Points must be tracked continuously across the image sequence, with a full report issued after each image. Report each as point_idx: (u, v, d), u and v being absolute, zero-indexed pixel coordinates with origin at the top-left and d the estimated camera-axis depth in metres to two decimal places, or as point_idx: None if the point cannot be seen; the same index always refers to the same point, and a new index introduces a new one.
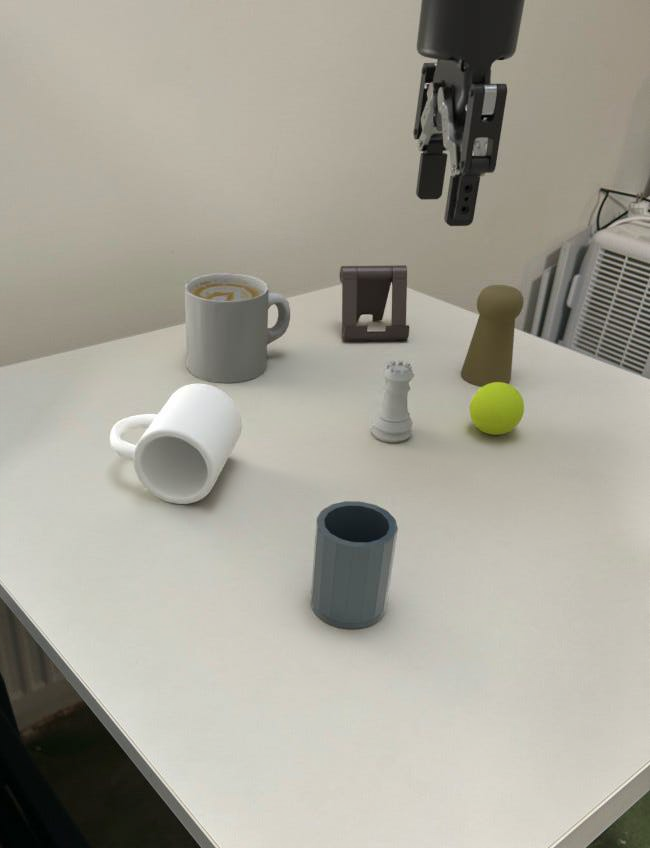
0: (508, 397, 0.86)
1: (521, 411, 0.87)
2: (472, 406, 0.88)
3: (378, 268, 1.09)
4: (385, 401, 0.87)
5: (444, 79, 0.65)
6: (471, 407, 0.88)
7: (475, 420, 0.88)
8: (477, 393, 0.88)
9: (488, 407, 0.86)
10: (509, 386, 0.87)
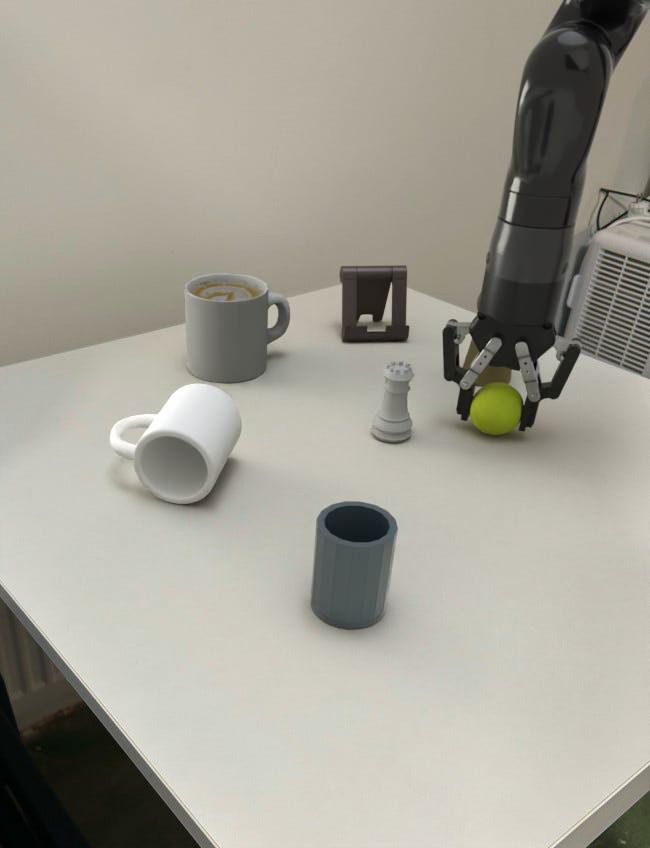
0: (508, 397, 0.86)
1: (521, 411, 0.87)
2: (472, 406, 0.88)
3: (378, 268, 1.09)
4: (385, 401, 0.87)
5: (503, 333, 0.83)
6: (471, 407, 0.88)
7: (474, 420, 0.88)
8: (477, 393, 0.88)
9: (488, 407, 0.86)
10: (509, 386, 0.87)
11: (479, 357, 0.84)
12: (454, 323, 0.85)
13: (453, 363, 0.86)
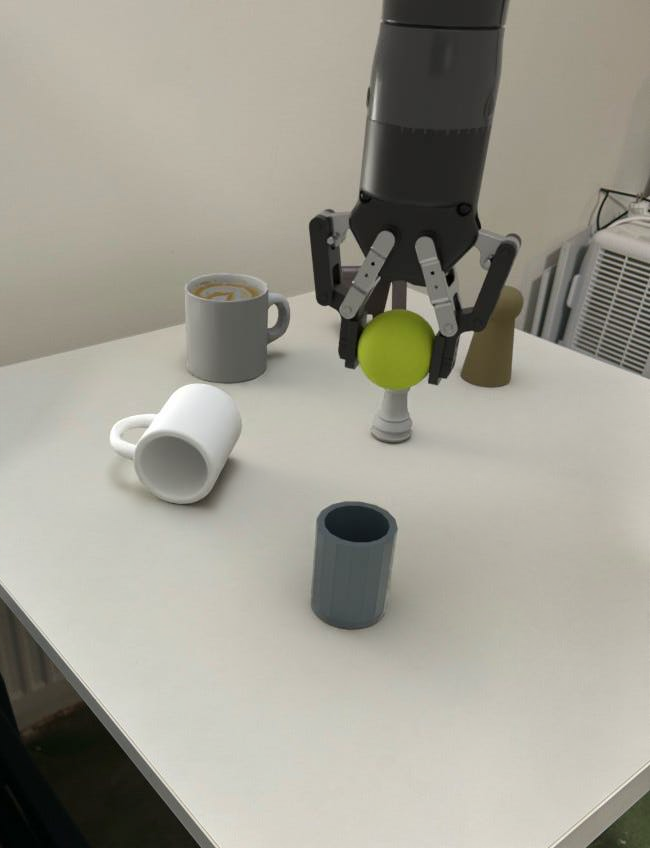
0: (410, 329, 0.56)
1: (431, 353, 0.57)
2: (359, 345, 0.58)
3: None
4: (385, 401, 0.87)
5: (398, 224, 0.53)
6: (358, 347, 0.58)
7: (363, 367, 0.58)
8: (367, 325, 0.58)
9: (379, 345, 0.56)
10: (414, 314, 0.57)
11: (364, 265, 0.54)
12: (328, 213, 0.55)
13: (328, 277, 0.56)
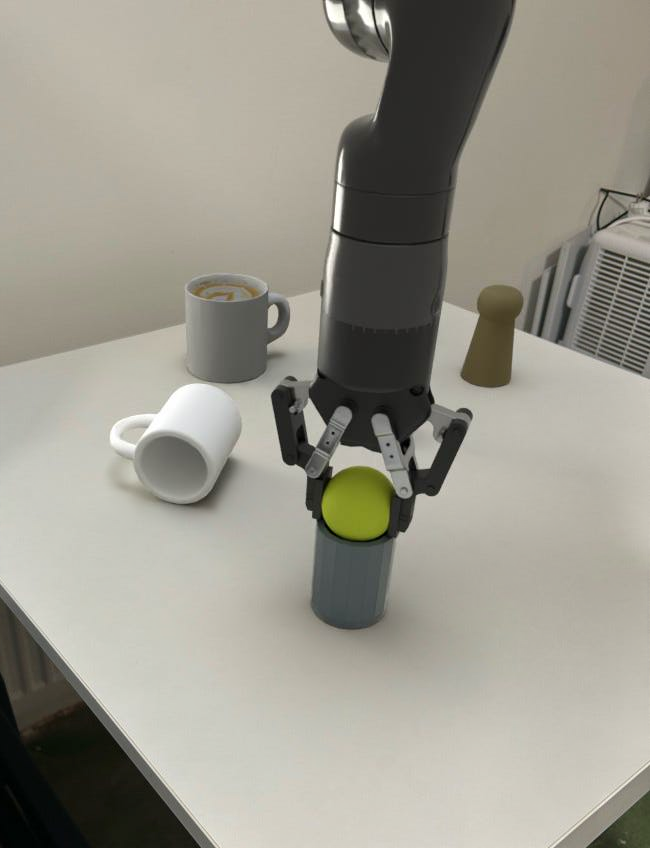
0: (370, 491, 0.58)
1: None
2: (322, 501, 0.60)
3: None
4: None
5: (355, 398, 0.55)
6: (322, 502, 0.61)
7: (327, 522, 0.60)
8: (329, 482, 0.60)
9: (341, 505, 0.59)
10: (374, 474, 0.59)
11: (324, 434, 0.57)
12: (289, 383, 0.58)
13: (292, 440, 0.59)
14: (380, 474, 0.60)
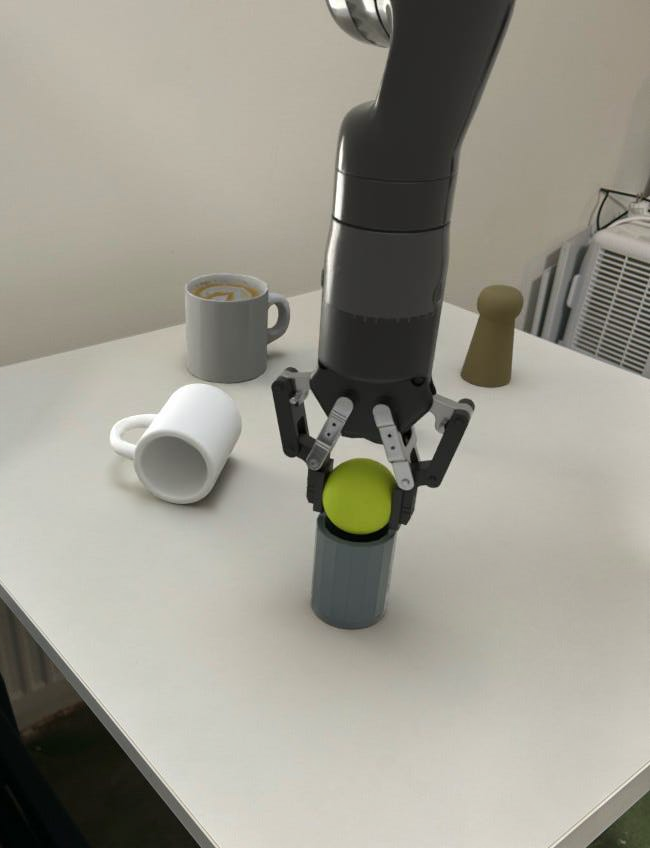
0: (371, 483, 0.58)
1: None
2: (324, 494, 0.60)
3: None
4: None
5: (356, 389, 0.55)
6: (323, 494, 0.60)
7: (328, 514, 0.60)
8: (330, 474, 0.60)
9: (342, 497, 0.58)
10: (375, 465, 0.59)
11: (325, 425, 0.56)
12: (289, 374, 0.57)
13: (293, 432, 0.58)
14: (381, 466, 0.59)
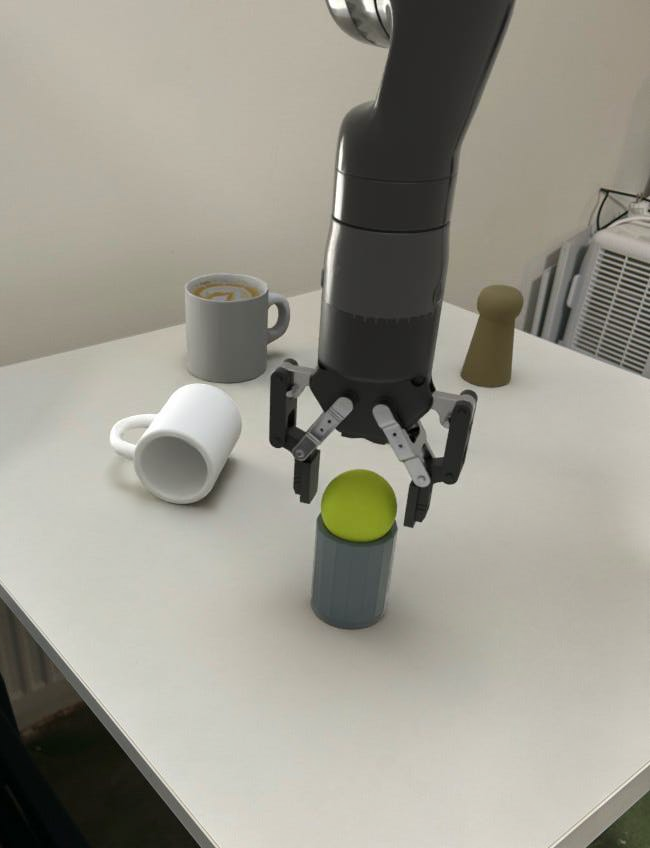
0: (368, 495, 0.58)
1: (391, 513, 0.59)
2: (322, 506, 0.60)
3: None
4: None
5: (356, 389, 0.55)
6: (321, 506, 0.61)
7: (326, 526, 0.61)
8: (328, 487, 0.60)
9: (340, 509, 0.59)
10: (372, 477, 0.59)
11: (320, 420, 0.56)
12: (290, 366, 0.57)
13: (283, 424, 0.58)
14: (379, 477, 0.60)
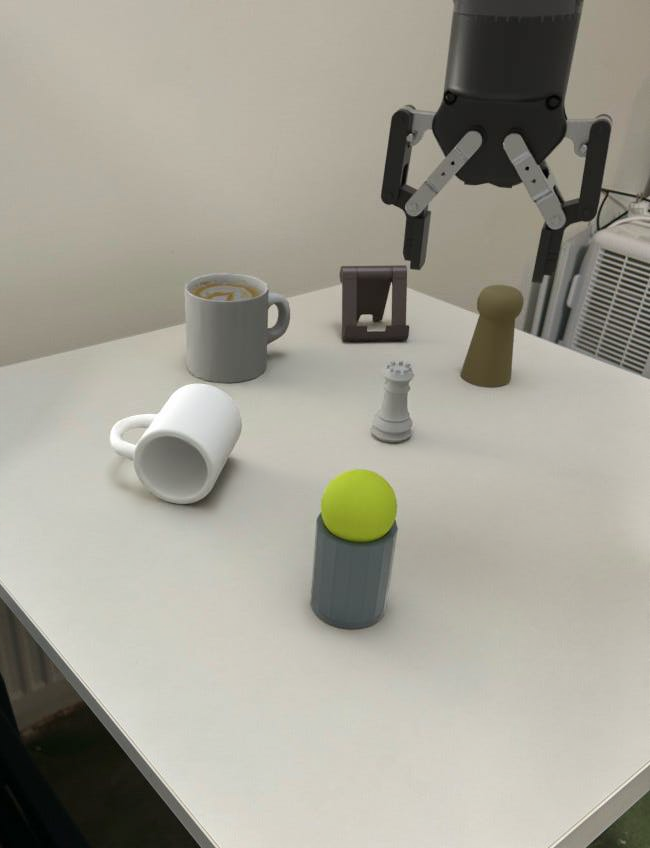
0: (368, 495, 0.58)
1: (391, 513, 0.59)
2: (322, 506, 0.60)
3: (378, 268, 1.09)
4: (385, 401, 0.87)
5: (484, 124, 0.53)
6: (321, 506, 0.61)
7: (326, 526, 0.61)
8: (328, 487, 0.60)
9: (340, 509, 0.59)
10: (372, 477, 0.59)
11: (443, 163, 0.54)
12: (411, 109, 0.55)
13: (398, 175, 0.56)
14: (379, 477, 0.60)
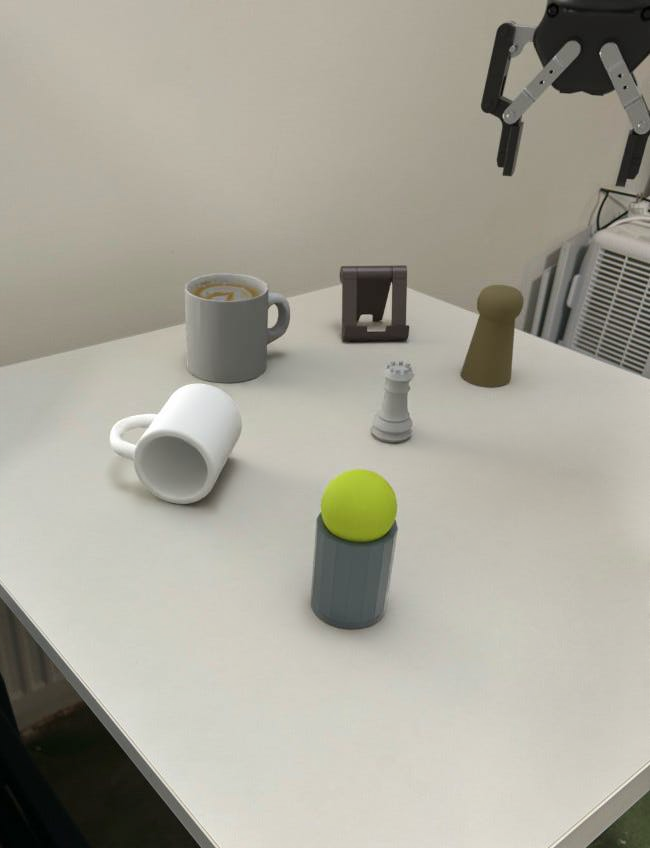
0: (368, 495, 0.58)
1: (391, 513, 0.59)
2: (322, 506, 0.60)
3: (378, 268, 1.09)
4: (385, 401, 0.87)
5: (582, 35, 0.59)
6: (321, 506, 0.61)
7: (326, 526, 0.61)
8: (328, 487, 0.60)
9: (340, 509, 0.59)
10: (372, 477, 0.59)
11: (542, 71, 0.61)
12: (514, 24, 0.61)
13: (499, 84, 0.63)
14: (379, 477, 0.60)
